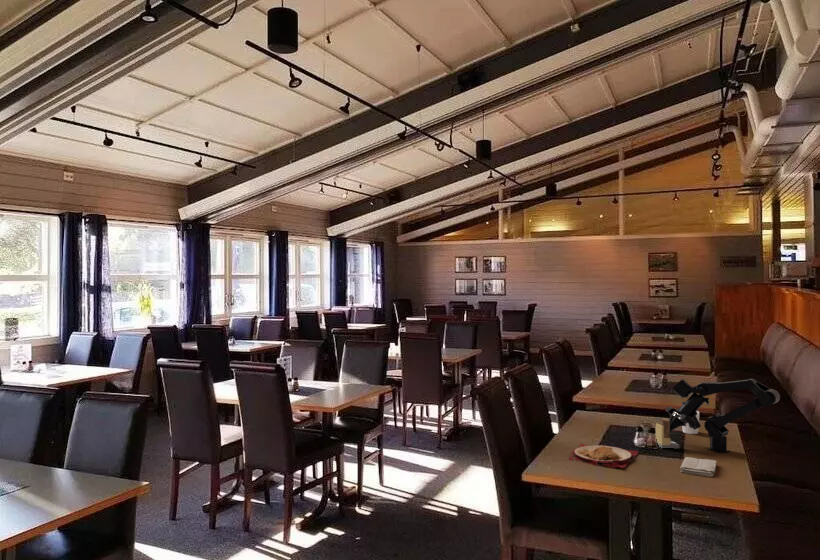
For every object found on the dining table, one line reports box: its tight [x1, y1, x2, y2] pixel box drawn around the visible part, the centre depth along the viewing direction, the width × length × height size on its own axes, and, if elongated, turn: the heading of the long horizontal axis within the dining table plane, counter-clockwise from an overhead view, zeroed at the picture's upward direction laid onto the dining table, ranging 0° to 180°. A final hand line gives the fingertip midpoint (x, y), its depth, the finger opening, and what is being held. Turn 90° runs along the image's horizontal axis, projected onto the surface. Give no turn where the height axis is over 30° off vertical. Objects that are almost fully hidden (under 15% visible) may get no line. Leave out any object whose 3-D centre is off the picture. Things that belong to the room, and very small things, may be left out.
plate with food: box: [567, 443, 639, 469], centre depth 257 cm, size 25×26×4 cm
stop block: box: [658, 417, 671, 439], centre depth 272 cm, size 3×4×10 cm
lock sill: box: [655, 422, 680, 449], centre depth 272 cm, size 8×6×10 cm
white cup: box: [681, 410, 700, 435], centre depth 298 cm, size 8×8×10 cm
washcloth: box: [679, 456, 717, 478], centre depth 241 cm, size 12×18×3 cm, turn 151°
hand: (667, 431), depth 273 cm, fingers closed, pressing on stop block
